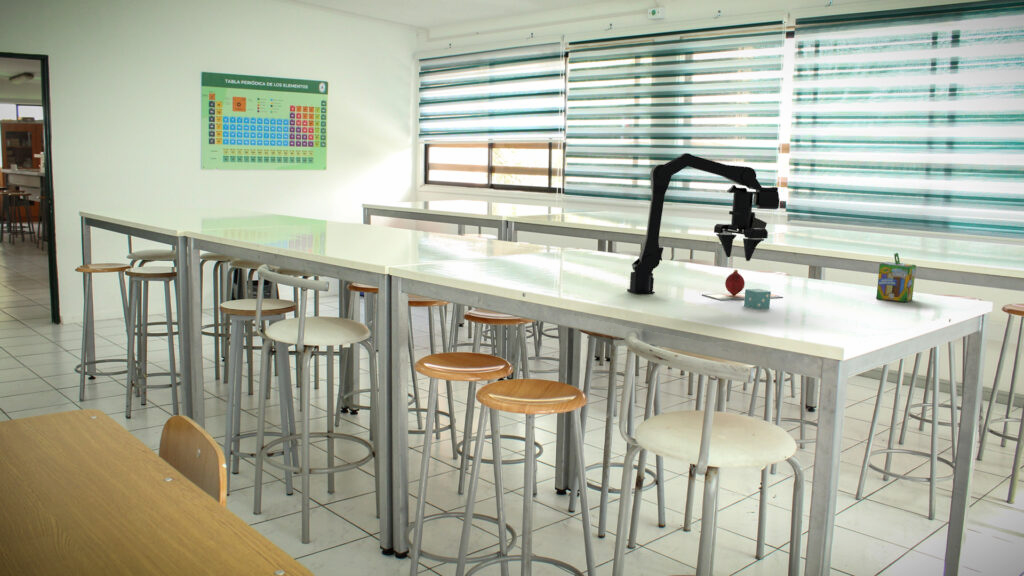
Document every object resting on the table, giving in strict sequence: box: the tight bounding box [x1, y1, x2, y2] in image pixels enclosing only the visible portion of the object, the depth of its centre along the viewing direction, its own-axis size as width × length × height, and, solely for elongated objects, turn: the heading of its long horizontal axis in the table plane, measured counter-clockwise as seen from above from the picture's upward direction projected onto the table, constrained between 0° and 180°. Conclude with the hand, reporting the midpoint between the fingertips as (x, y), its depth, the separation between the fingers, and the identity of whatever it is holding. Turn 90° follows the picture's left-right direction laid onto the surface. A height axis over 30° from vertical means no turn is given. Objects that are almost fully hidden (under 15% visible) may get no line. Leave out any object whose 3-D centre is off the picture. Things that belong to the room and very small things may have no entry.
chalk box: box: [875, 252, 917, 303], centre depth 252 cm, size 9×9×15 cm
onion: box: [724, 269, 746, 295], centre depth 245 cm, size 6×6×8 cm
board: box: [701, 292, 784, 301], centre depth 247 cm, size 24×9×1 cm, turn 113°
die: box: [743, 288, 772, 310], centre depth 229 cm, size 5×5×5 cm
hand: (738, 259), depth 244 cm, fingers open, 9 cm apart
